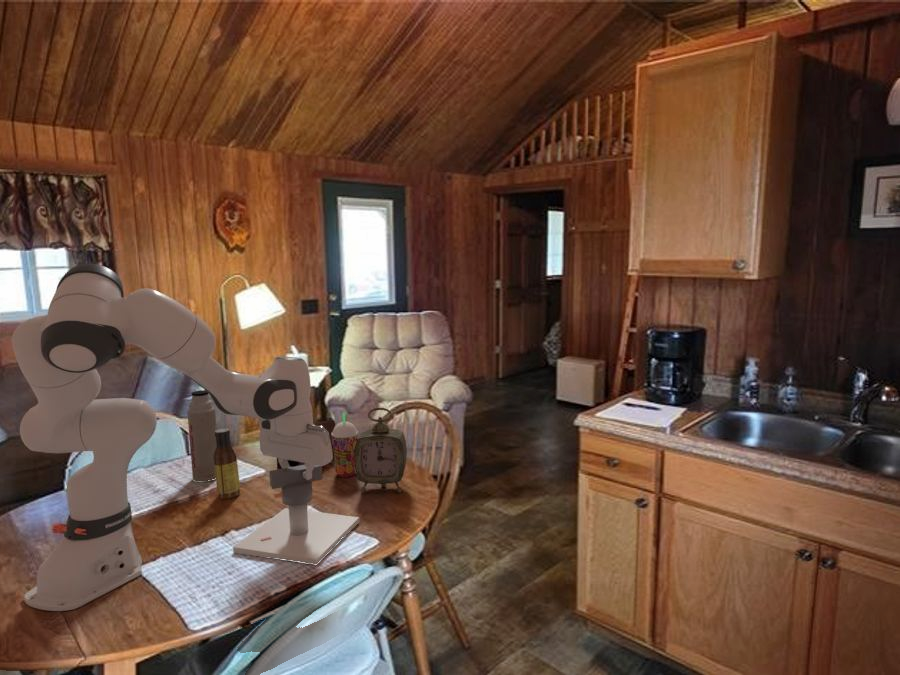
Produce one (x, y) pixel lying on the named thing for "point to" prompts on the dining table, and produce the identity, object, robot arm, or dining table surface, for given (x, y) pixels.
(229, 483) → the sauce bottle
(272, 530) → the base
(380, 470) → the tabletop clock
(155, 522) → the dining table surface
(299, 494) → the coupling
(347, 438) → the smoothie
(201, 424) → the thermos bottle
